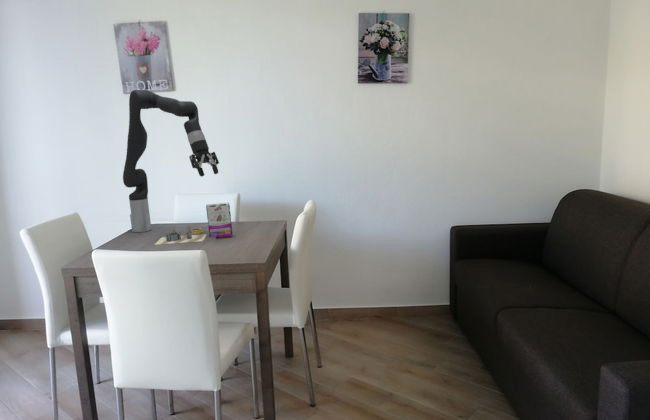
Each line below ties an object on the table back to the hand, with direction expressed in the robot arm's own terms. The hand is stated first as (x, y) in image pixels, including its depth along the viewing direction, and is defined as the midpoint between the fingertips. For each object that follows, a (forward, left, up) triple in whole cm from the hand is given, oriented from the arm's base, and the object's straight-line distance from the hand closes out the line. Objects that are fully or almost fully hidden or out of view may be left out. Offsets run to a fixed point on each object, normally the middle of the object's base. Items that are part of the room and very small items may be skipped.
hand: (209, 174), depth 215 cm
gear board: (-17, +3, -31) cm, 36 cm away
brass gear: (-12, +15, -31) cm, 37 cm away
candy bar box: (+1, +7, -32) cm, 33 cm away
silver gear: (-20, +3, -30) cm, 37 cm away
